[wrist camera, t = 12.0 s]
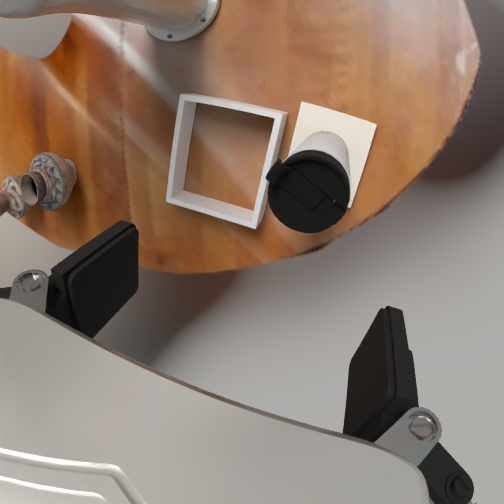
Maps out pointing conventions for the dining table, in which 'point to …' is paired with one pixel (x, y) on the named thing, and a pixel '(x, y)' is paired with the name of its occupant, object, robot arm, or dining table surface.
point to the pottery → (39, 185)
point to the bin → (182, 150)
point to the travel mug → (311, 184)
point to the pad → (343, 125)
